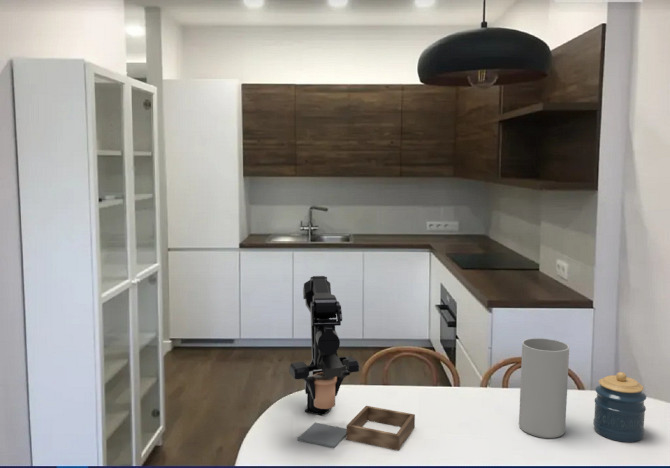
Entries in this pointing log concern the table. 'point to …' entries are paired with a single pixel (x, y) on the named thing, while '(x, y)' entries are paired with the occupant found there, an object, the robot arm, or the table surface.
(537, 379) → the cylinder vase
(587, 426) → the table surface
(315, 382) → the terracotta pot
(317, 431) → the slate mat
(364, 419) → the brown wooden square frame
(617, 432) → the canister
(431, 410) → the table surface
